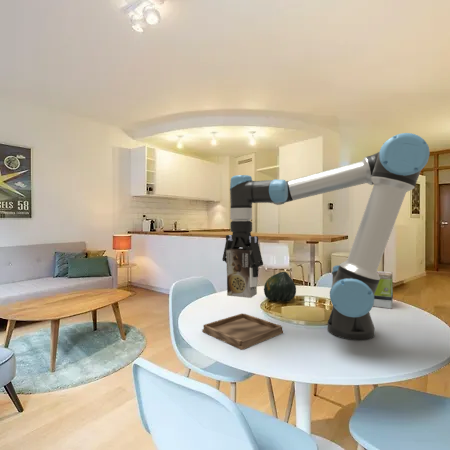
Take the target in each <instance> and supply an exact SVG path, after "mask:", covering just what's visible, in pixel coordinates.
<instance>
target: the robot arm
mask: <svg viewBox="0 0 450 450" xmlns="http://www.w3.org/2000/svg"><path fill="white" fill-rule="evenodd" d="M430 154H431V153H430V147H429V144H428V143H427V142H426V140H425V139H424V138H423V137H422V136H420V135H418V134H415V133H410V132H402V133H398V134H395V135H393V136H391V137H390V138H389V139H387V140H386V141H384V142H383V144H382V145H381V147H380V150H379V151H377V152H376V153H373V154H372V155H367V156H365V157H363V159H362V160H361V161H357V162H354V163H349V164H347V165H342V166H339V167H334V168H331V169H327V170H323V171H321V172H316V173H312V174H309V175H304V176H301V177H298V178H294V179H290V180H287V181H286V179H275V178H274V179H268V180H267V179H265V180H253V178H252V176H251V175H249V174H238V175H233V176H231V178H230V186H229V193H230V194H229V195H230V196H229V197H230V202H229V203H230V210H229V211H230V220H231V221H230V232H232V234H227V235H225V245H224V250H223V255H222V261H223V262H225V263H226V264H227V258H226V250H229V249H237V248H243V249H244V250H252V253H251V255H250V254H249V261H250V264H251V267H250V287H255V286H257V287H258V277H259V268H260V267H261V266H263V265H264V261H263V257H262V253H261V249H260V246H259V245H260V244H259V237H258V235H257V236H256V235H255V236H253V235H251V232H253V222H252V220H253V204H263V203H264V204H267V203H268V204H273V205H276V206H280V205H285V204H286V203H289V202H292V201H297V200H301V199H306V198H309V197H315V196H318V195H322V194H326V193H330V192H335V191H338V190H339V191H340V190H342V189H346V188H352V187H356V186H359V185H360V186H361V185H364V184H368V185H371V186H373V187H372V189H371V192H370V194H369V195H370V196H369V198H368V201H367V203H366V206H365V209H364V212H363V215H362V217H361V221H360V223H359V226H358V229H357V231H356V233H355V237H354V239H353V243H352V245H351V248H350V251H349V254H348V257H347V260H345V261H343V262H341V263H340V264H339V265H338V264H337V265H333V267H332V272H331V275H332V284H331V288H330V290H329V299H330V302H331V304H332V309H331V312H330V315H329V318H328V320H327V332H329V333H330V334H331V335H334V336H336V337H339V338H341V339H346V340H354V341H355V340H356V341H365V340H370V339H373V338H374V337H375V333H376V331H375V325H374V322H373V319H372V317H371V313H370V311H371V310H372V308H373V307H374V306H373V305H374V300H375V299H374V294H375V291H376V288H377V286H378V283H379V280H380V277H379V275H378V273H377V271H378V269H379V267H380V264H381V260H382V257H383V255H384V254H385V253H384V252H385V251H386V247H387V244H388V242H389V240H390V237H391V234H392V233H393V232H392V231H393V228H394V226H395V223H396V220H397V218H398V215H399V213H400V210H401V207H402V205H403V202H404V199H405V197H406V194H407V193H409V191H412V190H414V189H415V187H416V185H417V182H418V179H419V177H420V175H421V173H422V172H421V171H422V170H423V169H424V168H425V166H426V165H427V164H428V162H429V158H430ZM254 263H255V264H254Z"/></svg>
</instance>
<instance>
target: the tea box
mask: <svg viewBox="0 0 450 450" xmlns="http://www.w3.org/2000/svg"><path fill="white" fill-rule="evenodd" d="M377 273H378V275H379V277H380V280H379V283H378V286H377V288H376V291H375V294H374V299H375V300H374V305H373V307H375V308H384V309H392V308H393V303H394V291H393V290H394V289H393V287H394V286H393V285H394V284H393V282H394V281H393V272H392V271H381V270H380V271H379V270H377Z"/></svg>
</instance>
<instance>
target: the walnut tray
mask: <svg viewBox="0 0 450 450" xmlns="http://www.w3.org/2000/svg"><path fill="white" fill-rule="evenodd" d="M201 331H202V333H204V334H206V335H209V336H211V337H214V338H215V339H217V340H220V341H221V342H224V343H226V344H227V345H230V346H232V347H234V348H237V349H239V350H240V351H243V350H245V349H248V348H250V347H252V346H255V345H257V344H259V343H262V342H264V341H267V340H269V339H272V338H274V337H278V336H280V335H281V334H284V330H283V326H282V325H280V324H278V323H274V322H272V321H268V320H266V319H265V320H264V319H263V318H262V319H261V318H259V317H257V316H253V315H250V314H246V313H238V314H235V315H233V316H228V317H226V318H223V319H219V320H215V321H212V322H209V323H205V324H203V329H201Z"/></svg>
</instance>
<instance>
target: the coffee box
mask: <svg viewBox="0 0 450 450" xmlns="http://www.w3.org/2000/svg"><path fill="white" fill-rule="evenodd" d="M251 253H252V250H244V249H243V248H241V247H240V248H237V249H229V250H226V258H227V263H226V290H227V293H226V296H227V297H229V296H230V297H239V298H247V299H252V298H253V297H255V296H256V295H257V294H258V292H257V289H258V288H257V287H258V285H257V286H255V287H250V267H251V264H250V261H249V254H250V255H251ZM254 264H255V263H254Z"/></svg>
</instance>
